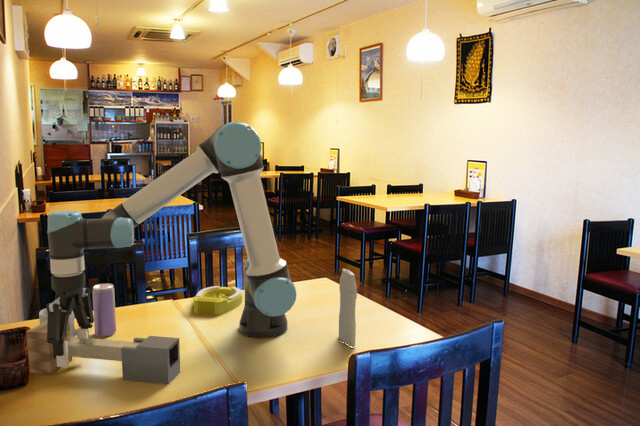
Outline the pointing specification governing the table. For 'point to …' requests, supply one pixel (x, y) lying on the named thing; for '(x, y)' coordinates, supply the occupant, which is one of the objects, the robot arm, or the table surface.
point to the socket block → (42, 350)
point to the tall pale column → (347, 308)
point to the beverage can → (104, 310)
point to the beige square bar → (96, 348)
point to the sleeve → (151, 360)
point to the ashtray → (217, 300)
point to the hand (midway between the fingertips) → (73, 359)
